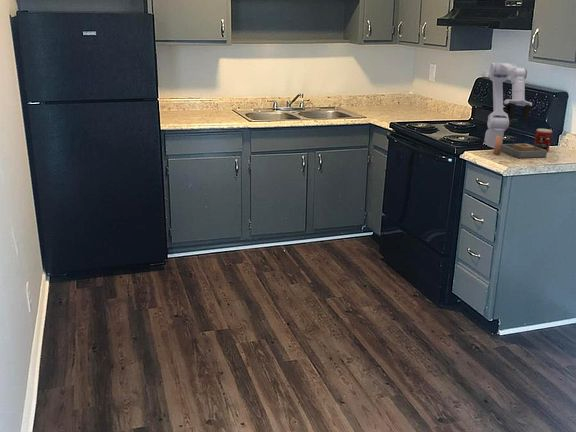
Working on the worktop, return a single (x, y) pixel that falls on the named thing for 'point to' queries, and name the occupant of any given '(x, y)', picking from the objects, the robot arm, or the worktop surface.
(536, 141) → the canned food
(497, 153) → the peg
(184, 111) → the worktop surface
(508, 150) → the tray
